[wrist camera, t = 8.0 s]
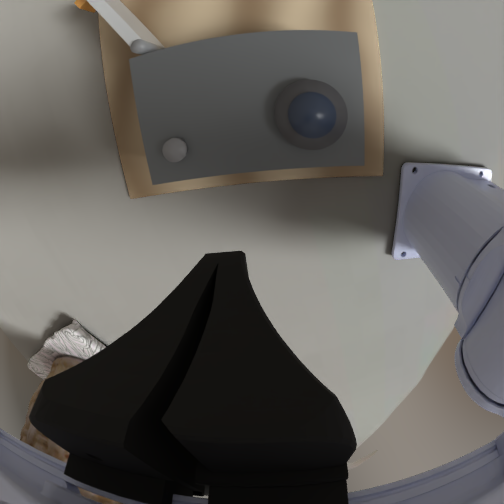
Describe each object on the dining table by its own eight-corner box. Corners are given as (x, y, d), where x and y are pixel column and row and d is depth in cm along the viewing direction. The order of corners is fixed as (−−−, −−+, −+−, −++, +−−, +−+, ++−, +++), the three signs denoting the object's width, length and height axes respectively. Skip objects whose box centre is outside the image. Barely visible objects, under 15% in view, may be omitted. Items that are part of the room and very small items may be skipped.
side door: (95, 9, 11) (62, -1, 8) (112, -8, 10) (82, -22, 7) (151, 70, 14) (123, 67, 11) (171, 53, 14) (147, 45, 10)
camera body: (335, 43, 13) (361, 28, 9) (342, 148, 17) (368, 169, 13) (158, 62, 14) (122, 56, 10) (175, 163, 18) (148, 189, 14)
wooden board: (362, -35, 10) (363, -37, 9) (381, 174, 18) (382, 175, 18) (99, 0, 11) (97, -1, 11) (132, 197, 19) (130, 199, 19)
